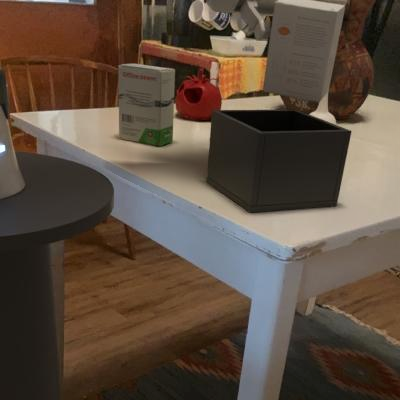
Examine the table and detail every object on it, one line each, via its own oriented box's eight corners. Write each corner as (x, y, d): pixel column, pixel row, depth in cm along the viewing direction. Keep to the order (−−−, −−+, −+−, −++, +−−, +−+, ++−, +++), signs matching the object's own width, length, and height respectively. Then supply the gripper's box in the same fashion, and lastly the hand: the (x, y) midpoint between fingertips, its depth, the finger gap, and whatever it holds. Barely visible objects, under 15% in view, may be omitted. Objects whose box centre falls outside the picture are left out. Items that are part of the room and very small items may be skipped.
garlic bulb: (332, 131, 125) (339, 89, 121) (336, 137, 120) (344, 94, 116) (301, 128, 125) (308, 86, 121) (304, 135, 120) (311, 91, 116)
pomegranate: (203, 111, 133) (206, 64, 128) (230, 121, 126) (234, 72, 121) (164, 113, 128) (166, 64, 123) (190, 123, 121) (193, 72, 116)
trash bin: (250, 212, 78) (259, 133, 73) (206, 181, 88) (211, 110, 83) (336, 205, 83) (351, 130, 78) (285, 177, 93) (296, 109, 88)
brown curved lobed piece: (259, 103, 146) (273, -19, 133) (335, 105, 152) (357, -12, 139) (298, 124, 129) (319, -15, 115) (383, 125, 135) (413, -7, 121)
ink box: (174, 142, 107) (177, 67, 101) (159, 147, 103) (162, 70, 97) (132, 133, 110) (133, 61, 104) (117, 138, 106) (117, 63, 100)
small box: (328, 94, 82) (347, 5, 76) (320, 103, 78) (339, 10, 72) (272, 83, 84) (286, -5, 78) (261, 92, 80) (274, 0, 73)
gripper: (202, -85, 74) (229, 16, 72) (339, -66, 81) (367, 25, 80) (185, -41, 79) (210, 53, 77) (315, -27, 87) (340, 58, 85)
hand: (291, 39), depth 78 cm, fingers closed on small box, 6 cm apart
